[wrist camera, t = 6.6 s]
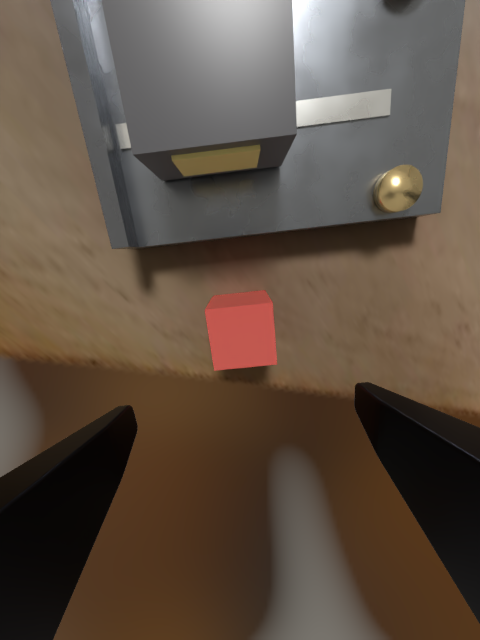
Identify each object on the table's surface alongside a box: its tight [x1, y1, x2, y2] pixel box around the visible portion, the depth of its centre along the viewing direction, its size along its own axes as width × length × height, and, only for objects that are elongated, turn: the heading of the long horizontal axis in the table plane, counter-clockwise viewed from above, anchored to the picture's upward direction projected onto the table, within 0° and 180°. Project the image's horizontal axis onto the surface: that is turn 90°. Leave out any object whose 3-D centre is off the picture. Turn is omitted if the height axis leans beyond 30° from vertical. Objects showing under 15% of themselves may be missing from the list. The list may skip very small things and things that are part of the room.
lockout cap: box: [205, 290, 277, 371], centre depth 17 cm, size 4×4×4 cm
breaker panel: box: [50, 0, 465, 249], centre depth 13 cm, size 20×20×4 cm
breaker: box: [101, 0, 297, 181], centre depth 11 cm, size 7×5×4 cm
